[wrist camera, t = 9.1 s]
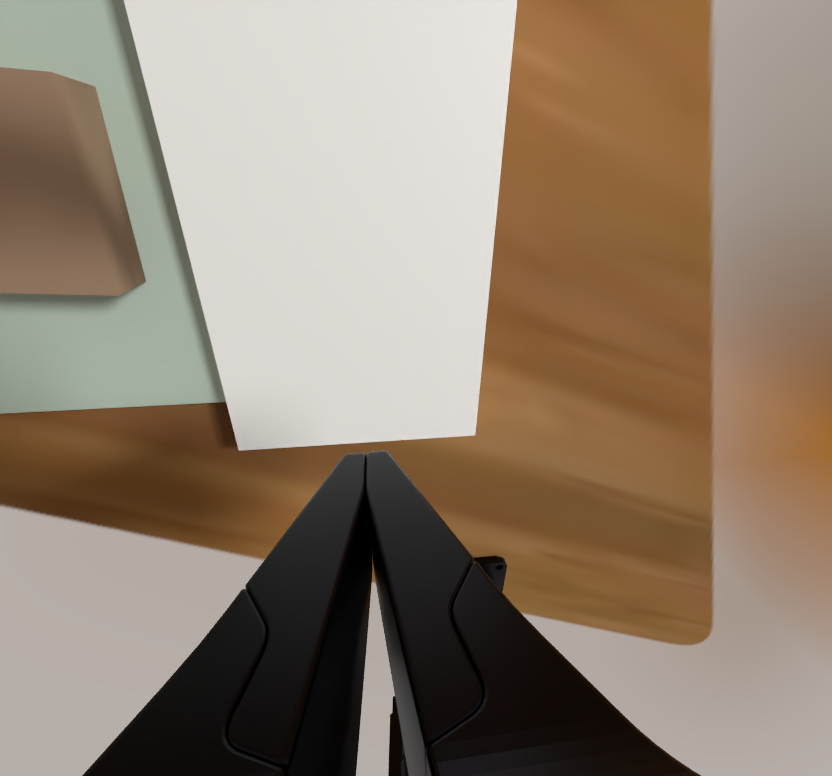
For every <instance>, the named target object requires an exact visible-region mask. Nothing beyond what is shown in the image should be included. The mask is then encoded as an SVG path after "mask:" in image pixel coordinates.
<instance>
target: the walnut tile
mask: <svg viewBox="0 0 832 776" xmlns="http://www.w3.org/2000/svg"><path fill="white" fill-rule="evenodd" d="M145 282H146V279H145V275H144V271H143V267H142V264H141V260H140V256H139V252H138V248H137V244H136V241H135V237H134V233H133V229H132V225H131V221H130V217H129V214H128V210H127V206H126V202H125V198H124V194H123V191H122V187H121V183H120V179H119V175H118V171H117V168H116V164H115V160H114V156H113V152H112V148H111V144H110V141H109V137H108V133H107V129H106V125H105V121H104V118H103V114H102V110H101V106H100V102H99V98H98V95H97V91H96V87H95V86H92V85H89V84H86V83H83V82H80V81H77V80H74V79H71V78H68V77H65V76H62V75H59V74H56V73H53V72H48V71H37V70H26V69H15V68H4V67H0V293H16V294H58V295H100V296H119V295H121V294H123V293H125V292H127V291H129V290H131V289H133V288H135V287H137V286H139V285H141V284H143V283H145Z"/></svg>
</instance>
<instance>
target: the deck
mask: <svg viewBox="0 0 832 776" xmlns="http://www.w3.org/2000/svg"><path fill="white" fill-rule="evenodd" d="M124 3H125V7H126V11H127V15H128V19H129V23H130V27H131V31H132V35H133V39H134V43H135V46H136V50H137V54H138V58H139V62H140V66H141V70H142V74H143V78H144V82H145V86H146V90H147V93H148V97H149V101H150V105H151V109H152V113H153V117H154V121H155V125H156V129H157V133H158V137H159V140H160V144H161V148H162V152H163V156H164V160H165V164H166V168H167V172H168V176H169V180H170V184H171V187H172V191H173V195H174V199H175V203H176V207H177V211H178V215H179V219H180V223H181V227H182V231H183V235H184V238H185V242H186V246H187V250H188V254H189V258H190V262H191V266H192V270H193V274H194V278H195V282H196V285H197V289H198V293H199V297H200V301H201V305H202V309H203V313H204V317H205V321H206V325H207V329H208V332H209V336H210V340H211V344H212V348H213V352H214V356H215V360H216V364H217V368H218V372H219V376H220V379H221V383H222V387H223V391H224V395H225V399H226V403H227V407H228V411H229V415H230V419H231V423H232V427H233V430H234V434H235V438H236V442H237V446H238V450H239V451H240V450H256V449H271V448H287V447H302V446H318V445H333V444H348V443H364V442H379V441H395V440H410V439H426V438H441V437H457V436H472V435H475V432H476V421H477V411H478V401H479V390H480V380H481V370H482V359H483V349H484V338H485V328H486V318H487V307H488V297H489V287H490V276H491V266H492V256H493V245H494V235H495V225H496V214H497V204H498V194H499V183H500V173H501V163H502V152H503V142H504V132H505V121H506V111H507V101H508V90H509V80H510V70H511V59H512V49H513V38H514V28H515V18H516V7H517V0H124Z"/></svg>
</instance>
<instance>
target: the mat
mask: <svg viewBox="0 0 832 776" xmlns="http://www.w3.org/2000/svg"><path fill="white" fill-rule="evenodd" d="M0 67H4V68H15V69H26V70H37V71H48V72H53V73H56V74H59V75H62V76H65V77H68V78H71V79H74V80H77V81H80V82H83V83H86V84H89V85H92V86H95V87H96V91H97V95H98V98H99V102H100V106H101V110H102V114H103V118H104V121H105V125H106V129H107V133H108V137H109V141H110V144H111V148H112V152H113V156H114V160H115V164H116V168H117V171H118V175H119V179H120V183H121V187H122V191H123V194H124V198H125V202H126V206H127V210H128V214H129V217H130V221H131V225H132V229H133V233H134V237H135V241H136V244H137V248H138V252H139V256H140V260H141V264H142V267H143V271H144V275H145V279H146V282H145V283H143V284H141V285H139V286H137V287H135V288H133V289H131V290H129V291H127V292H125V293H123V294H121V295H119V296H100V295H58V294H16V293H0V414H2V413H22V412H41V411H61V410H80V409H99V408H119V407H138V406H158V405H177V404H197V403H216V402H226V399H225V395H224V391H223V387H222V383H221V379H220V376H219V372H218V368H217V364H216V360H215V356H214V352H213V348H212V344H211V340H210V336H209V332H208V329H207V325H206V321H205V317H204V313H203V309H202V305H201V301H200V297H199V293H198V289H197V285H196V282H195V278H194V274H193V270H192V266H191V262H190V258H189V254H188V250H187V246H186V242H185V238H184V235H183V231H182V227H181V223H180V219H179V215H178V211H177V207H176V203H175V199H174V195H173V191H172V187H171V184H170V180H169V176H168V172H167V168H166V164H165V160H164V156H163V152H162V148H161V144H160V140H159V137H158V133H157V129H156V125H155V121H154V117H153V113H152V109H151V105H150V101H149V97H148V93H147V90H146V86H145V82H144V78H143V74H142V70H141V66H140V62H139V58H138V54H137V50H136V46H135V43H134V39H133V35H132V31H131V27H130V23H129V19H128V15H127V11H126V7H125V3H124V0H0Z"/></svg>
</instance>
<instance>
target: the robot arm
mask: <svg viewBox="0 0 832 776" xmlns="http://www.w3.org/2000/svg"><path fill="white" fill-rule="evenodd" d="M372 556H373V565H374V573H375V580H376V586H377V592H378V597H379V603H380V609H381V615H382V621H383V627H384V633H385V638H386V645H387V651H388V656H389V662H390V668H391V674H392V680H393V685H394V691H395V696H394V697H393V713H392V714H391V715H390V744H389V776H701V775H699V774H697V773H696V772H694V771H692V770H691V769H690V768H688V767H687V766H685V765H684V764H682V763H681V762H679V761H678V760H676V759H675V758H673V757H672V756H670V755H669V754H668V753H667V752H665V751H664V750H663V749H661V748H660V747H659V746H657V745H656V744H655V743H654V742H653V741H651V740H650V739H649V738H648V737H646V736H645V735H644V734H643V733H642V732H640V730H638V729H637V728H636V727H635V726H634V725H633V724H632V723H631V722H630V721H629V720H628V719H627V718H626V717H625V716H624V715H623V714H622V713H620V711H619V710H618V709H616V708H615V707H614V706H613V705H612V704H611V703H610V702H609V701H608V700H607V699H606V698H605V697H604V696H603V695H602V694H601V693H600V692H599V691H598V690H597V689H596V688H595V687H594V686H593V685H592V684H591V683H590V682H589V681H588V680H587V679H586V678H585V677H584V676H583V675H582V674H581V673H580V672H579V671H578V670H577V669H576V668H575V667H574V666H573V665H572V664H571V663H570V662H569V661H568V660H567V659H565V657H564V656H563V655H562V654H561V653H560V652H559V651H558V650H557V649H556V648H555V647H554V646H553V645H552V644H551V643H550V642H548V640H546V639H545V638H544V637H543V636H542V635H541V634H540V633H539V631H538V630H537V629H536V628H535V627H534V626H533V625H532V624H531V623H530V622H529V621H528V620H527V619H526V618H525V617H524V616H523V615H522V614H521V613H520V612H519V611H518V610H517V609H516V608H515V607H514V606H513V604H512V603H511V602H510V601H509V600H508V599H507V598H506V596H505V595H504V594H503V593H502V591H503V585H504V579H505V574H506V568H507V565H506V562H505V560H504V558H502V557H494V558H484V559H474V558H473V557H472V556H471V554H470V553H469V552H468V551H467V549H466V548H465V547H464V546H463V544H462V543H461V542H460V541H459V539H458V538H457V537H456V536H455V534H454V533H453V532H452V531H451V530H450V528H449V527H448V526H447V525H446V523H445V522H444V521H443V520H442V518H441V517H440V516H439V515H438V513H437V512H436V511H435V510H434V508H433V507H432V506H431V505H430V503H429V502H428V501H427V500H426V498H425V497H424V496H423V495H422V494H421V492H420V491H419V490H418V489H417V487H416V486H415V485H414V484H413V482H412V481H411V480H410V479H409V477H408V476H407V475H406V474H405V472H404V471H403V470H402V469H401V467H400V466H399V465H398V464H397V463H396V461H395V460H394V459H393V458H392V456H391V455H390V454H389V453H388V452H387V451H374V452H368V453H367V455H366V454H365V453H351V454H345V455H344V456H343V457H342V459H341V460H340V461H339V463H338V464H337V465H336V467H335V468H334V469H333V470H332V472H331V473H330V474H329V476H328V477H327V478H326V480H325V481H324V482H323V484H322V485H321V486H320V488H319V489H318V490H317V492H316V493H315V494H314V496H313V497H312V498H311V500H310V501H309V502H308V504H307V505H306V506H305V507H304V509H303V510H302V511H301V513H300V514H299V515H298V517H297V518H296V519H295V521H294V522H293V523H292V525H291V526H290V527H289V529H288V530H287V531H286V533H285V534H284V535H283V537H282V538H281V539H280V541H279V542H278V543H277V544H276V546H275V547H274V548H273V550H272V551H271V552H270V554H269V555H268V556H267V558H266V559H265V560H264V562H263V563H262V564H261V566H260V567H259V568H258V570H257V571H256V572H255V574H254V575H253V576H252V578H251V579H250V580H249V581H248V583H247V584H246V589H243V590H241V592H240V593H239V594H238V596H237V597H236V598H235V600H234V601H233V602H232V604H231V605H230V606H229V608H228V609H227V610H226V611H225V613H224V614H223V615H222V617H221V618H220V619H219V620H218V621H217V623H216V624H215V625H214V627H213V628H212V629H211V630H210V632H209V633H208V634H207V635H206V637H205V638H204V639H203V640H202V642H201V643H200V644H199V645H198V647H197V648H196V649H195V650H194V651H193V652H192V653H191V655H190V656H189V657H188V658H187V659H186V660H185V661H184V663H183V664H182V665H181V666H180V667H179V668H178V670H177V671H176V672H175V673H174V674H173V675H172V676H171V678H170V679H169V680H168V681H167V682H166V683H165V685H164V686H163V687H162V688H161V689H160V690H159V691H158V692H157V693H156V695H155V696H154V697H153V698H152V699H151V700H150V701H149V702H148V703H147V705H146V706H145V707H144V708H143V709H142V710H141V711H140V712H139V714H138V715H137V716H136V717H135V718H134V719H133V720H132V721H131V722H130V724H129V725H128V726H127V727H126V728H125V729H124V730H123V731H122V732H121V733H120V734H119V736H118V737H117V738H116V739H115V740H114V741H113V742H112V743H111V744H110V746H109V747H108V748H107V749H106V750H105V751H104V752H103V754H101V756H100V757H99V758H98V759H97V760H96V761H95V762H94V763H93V765H92V766H91V767H90V768H89V769H88V770H87V771H86V772H85V773H84V775H83V776H356V766H357V753H358V742H359V729H360V716H361V704H362V693H363V692H362V691H363V680H364V667H365V656H366V644H367V631H368V620H369V608H370V595H371V594H370V593H371V583H372Z"/></svg>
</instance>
